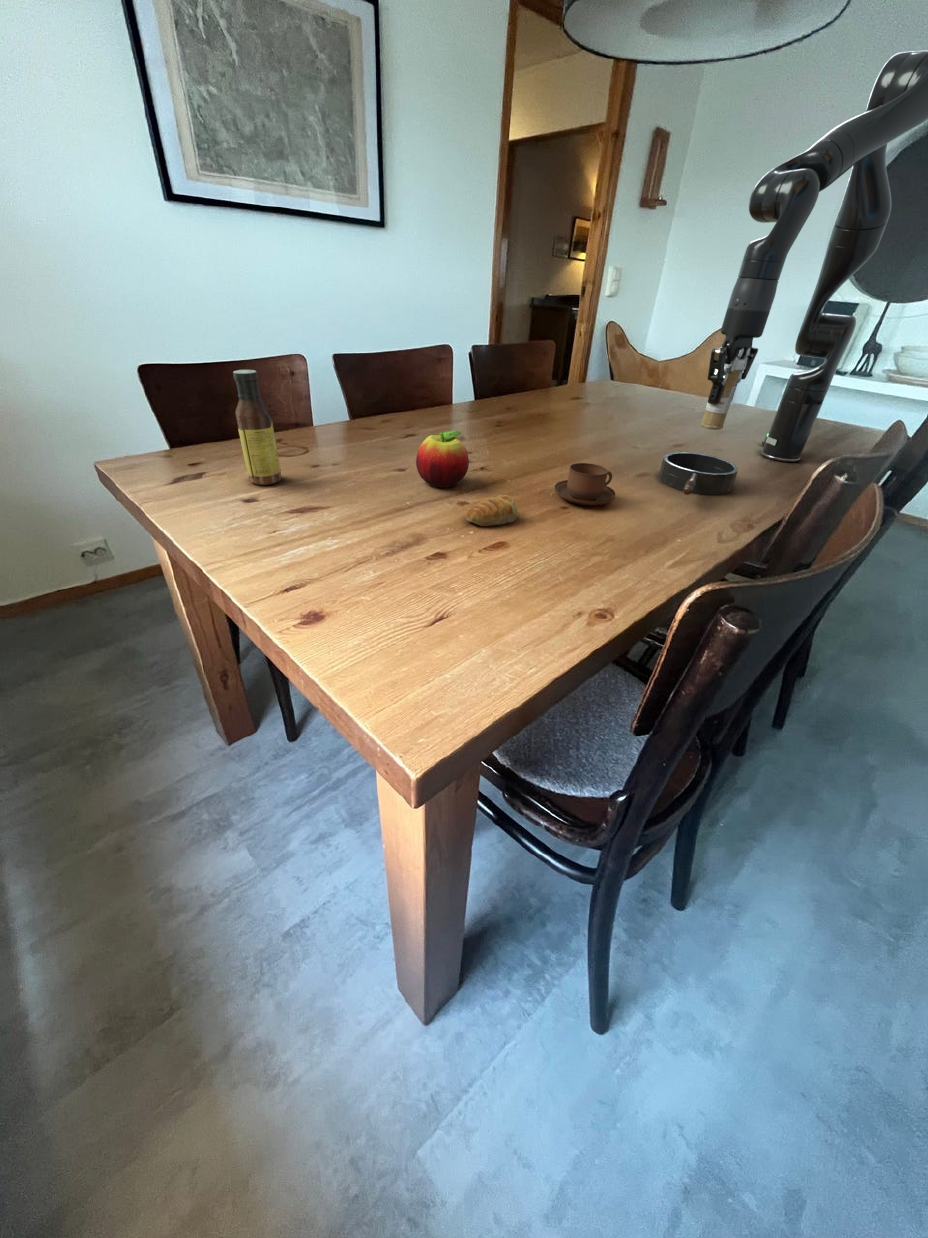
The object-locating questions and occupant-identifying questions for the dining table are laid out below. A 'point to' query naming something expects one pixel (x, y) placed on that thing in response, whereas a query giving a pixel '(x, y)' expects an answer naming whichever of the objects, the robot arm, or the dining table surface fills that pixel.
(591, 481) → the cup and saucer
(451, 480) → the fruit
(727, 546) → the dining table surface
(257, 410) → the sauce bottle
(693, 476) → the pan handle
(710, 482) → the pan
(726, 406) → the sprinkles bottle
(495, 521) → the pastry
